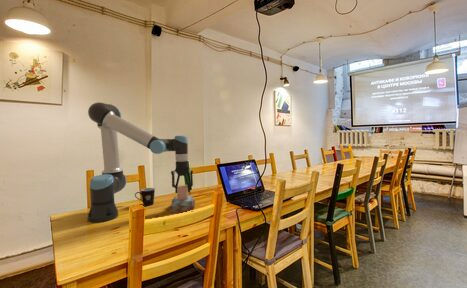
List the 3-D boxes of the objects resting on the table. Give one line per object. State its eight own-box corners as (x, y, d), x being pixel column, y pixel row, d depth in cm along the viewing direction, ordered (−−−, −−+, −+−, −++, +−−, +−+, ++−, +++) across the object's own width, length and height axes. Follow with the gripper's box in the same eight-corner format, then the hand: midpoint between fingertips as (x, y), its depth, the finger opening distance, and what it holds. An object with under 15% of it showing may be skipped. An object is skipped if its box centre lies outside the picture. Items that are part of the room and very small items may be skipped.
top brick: (178, 200, 149) (178, 187, 148) (179, 197, 153) (178, 185, 153) (186, 199, 149) (186, 186, 149) (187, 197, 154) (187, 184, 154)
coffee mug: (157, 202, 165) (156, 187, 164) (151, 206, 156) (151, 191, 155) (140, 202, 166) (140, 187, 165) (134, 206, 157) (133, 190, 157)
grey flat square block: (169, 212, 144) (169, 202, 144) (173, 205, 158) (172, 196, 158) (193, 211, 145) (193, 201, 145) (195, 204, 159) (194, 195, 159)
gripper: (165, 161, 145) (167, 200, 147) (196, 160, 147) (197, 198, 149) (167, 160, 153) (169, 197, 154) (196, 159, 155) (197, 195, 156)
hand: (183, 197), depth 151 cm, fingers closed on top brick, 5 cm apart
